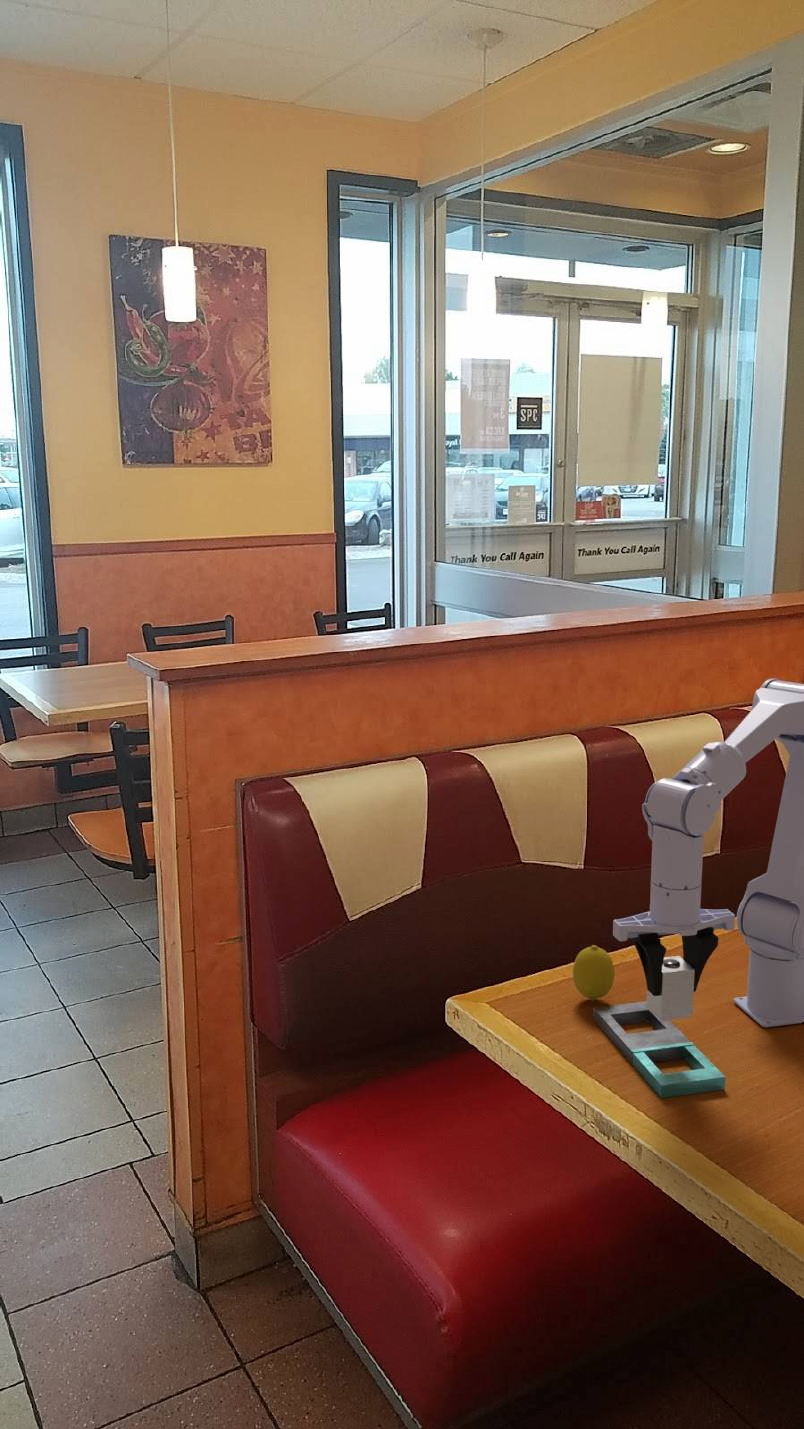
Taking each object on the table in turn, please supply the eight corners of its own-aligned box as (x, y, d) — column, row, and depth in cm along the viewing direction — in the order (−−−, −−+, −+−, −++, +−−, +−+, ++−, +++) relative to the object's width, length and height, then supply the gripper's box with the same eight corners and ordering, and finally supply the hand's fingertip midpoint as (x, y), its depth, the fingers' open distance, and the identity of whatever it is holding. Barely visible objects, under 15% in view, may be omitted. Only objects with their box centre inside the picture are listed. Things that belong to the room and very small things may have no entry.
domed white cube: (677, 1001, 137) (679, 954, 136) (692, 1016, 133) (694, 967, 132) (646, 1005, 136) (648, 957, 135) (660, 1020, 132) (663, 971, 131)
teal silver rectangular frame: (649, 1012, 150) (650, 1000, 150) (724, 1089, 131) (725, 1075, 130) (593, 1018, 148) (593, 1007, 148) (661, 1098, 129) (661, 1084, 129)
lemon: (613, 1011, 150) (614, 955, 149) (571, 1008, 151) (572, 952, 150) (614, 993, 155) (615, 938, 154) (573, 990, 157) (574, 936, 155)
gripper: (631, 899, 126) (628, 1011, 128) (750, 888, 129) (744, 998, 131) (607, 877, 132) (604, 985, 135) (720, 868, 135) (715, 973, 138)
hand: (671, 990), depth 134 cm, fingers closed on domed white cube, 4 cm apart
